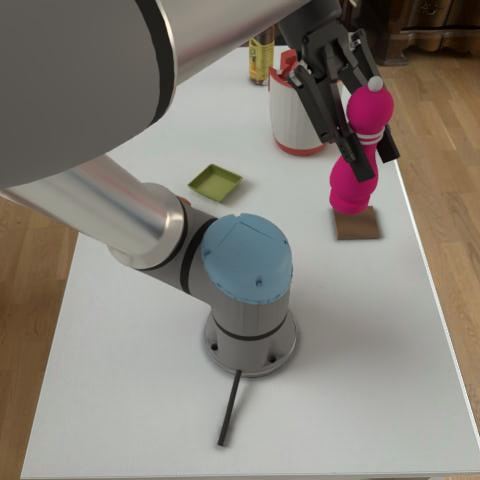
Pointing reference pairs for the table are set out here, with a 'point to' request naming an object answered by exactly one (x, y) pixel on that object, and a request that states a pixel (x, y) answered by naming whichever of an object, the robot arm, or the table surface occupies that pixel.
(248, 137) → the table surface
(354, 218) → the wooden coaster
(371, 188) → the pepper mill
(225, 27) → the robot arm
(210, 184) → the olive green square tray
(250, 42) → the sauce bottle
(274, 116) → the citrus juicer
